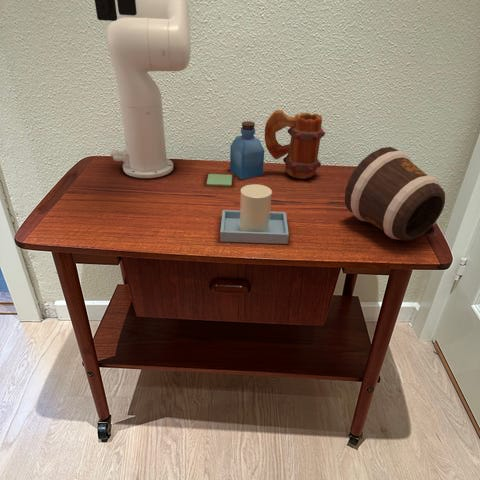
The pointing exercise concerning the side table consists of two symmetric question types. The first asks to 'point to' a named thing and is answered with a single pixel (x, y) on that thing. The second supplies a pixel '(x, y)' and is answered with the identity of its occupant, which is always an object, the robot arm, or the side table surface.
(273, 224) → the tray
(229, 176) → the mat
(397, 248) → the side table surface
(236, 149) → the perfume bottle
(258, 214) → the cream upright cylinder
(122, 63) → the robot arm
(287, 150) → the mug
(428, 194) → the brown wooden barrel
